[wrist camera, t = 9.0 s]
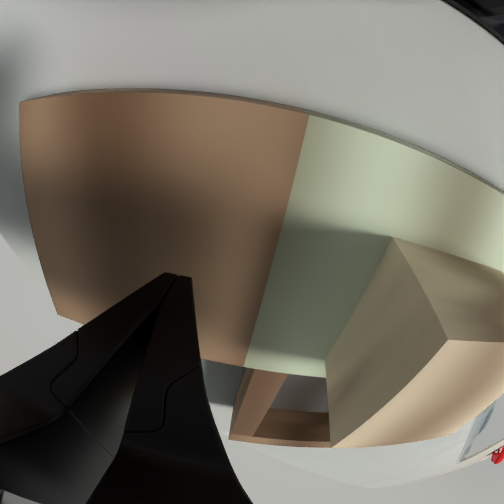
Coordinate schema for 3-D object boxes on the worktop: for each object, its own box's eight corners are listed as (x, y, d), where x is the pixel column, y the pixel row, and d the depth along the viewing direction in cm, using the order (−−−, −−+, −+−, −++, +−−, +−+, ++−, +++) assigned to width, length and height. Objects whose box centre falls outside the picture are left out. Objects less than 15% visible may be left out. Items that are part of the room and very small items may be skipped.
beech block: (502, 271, 8) (550, 342, 4) (430, 366, 11) (450, 434, 8) (392, 236, 8) (448, 339, 4) (324, 359, 11) (330, 448, 7)
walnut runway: (579, 249, 9) (599, 271, 7) (454, 408, 20) (461, 430, 18) (69, 91, 8) (19, 102, 6) (114, 375, 20) (102, 404, 17)
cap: (497, 458, 48) (508, 458, 43) (489, 466, 46) (501, 466, 41) (498, 442, 51) (509, 441, 46) (490, 450, 49) (502, 450, 44)
